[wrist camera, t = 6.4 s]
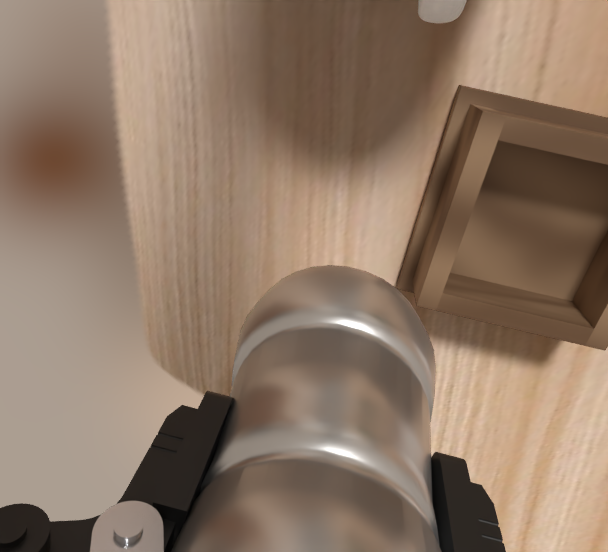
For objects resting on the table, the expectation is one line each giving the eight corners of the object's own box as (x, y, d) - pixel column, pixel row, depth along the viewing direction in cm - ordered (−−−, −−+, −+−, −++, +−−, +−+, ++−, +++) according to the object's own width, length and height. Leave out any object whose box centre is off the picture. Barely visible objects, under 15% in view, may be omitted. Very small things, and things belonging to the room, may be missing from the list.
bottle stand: (459, 85, 28) (472, 90, 24) (686, 135, 28) (736, 149, 24) (396, 283, 34) (399, 314, 30) (584, 328, 33) (612, 364, 30)
